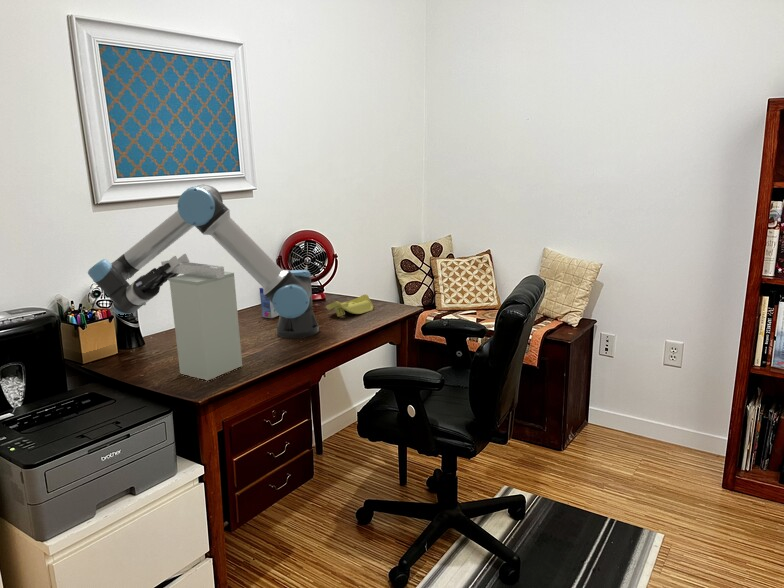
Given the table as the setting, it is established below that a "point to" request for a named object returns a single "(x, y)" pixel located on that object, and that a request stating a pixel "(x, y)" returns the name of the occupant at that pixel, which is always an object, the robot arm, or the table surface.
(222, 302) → the pedestal
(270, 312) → the ink cartridge box
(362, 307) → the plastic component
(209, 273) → the rail bar
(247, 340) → the table surface
